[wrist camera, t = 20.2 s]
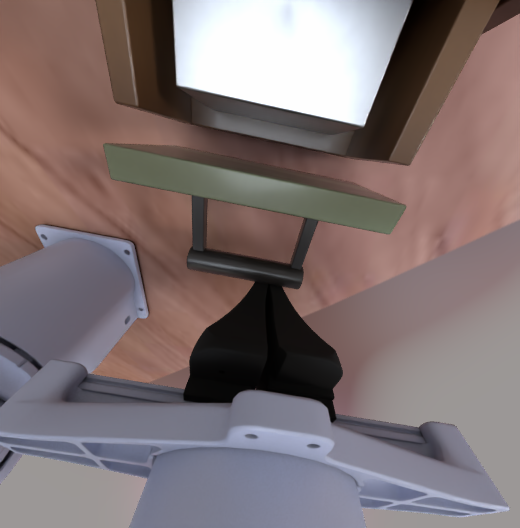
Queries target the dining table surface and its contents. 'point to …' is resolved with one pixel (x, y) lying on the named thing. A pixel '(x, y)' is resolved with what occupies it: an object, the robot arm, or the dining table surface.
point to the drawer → (281, 129)
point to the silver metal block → (287, 57)
